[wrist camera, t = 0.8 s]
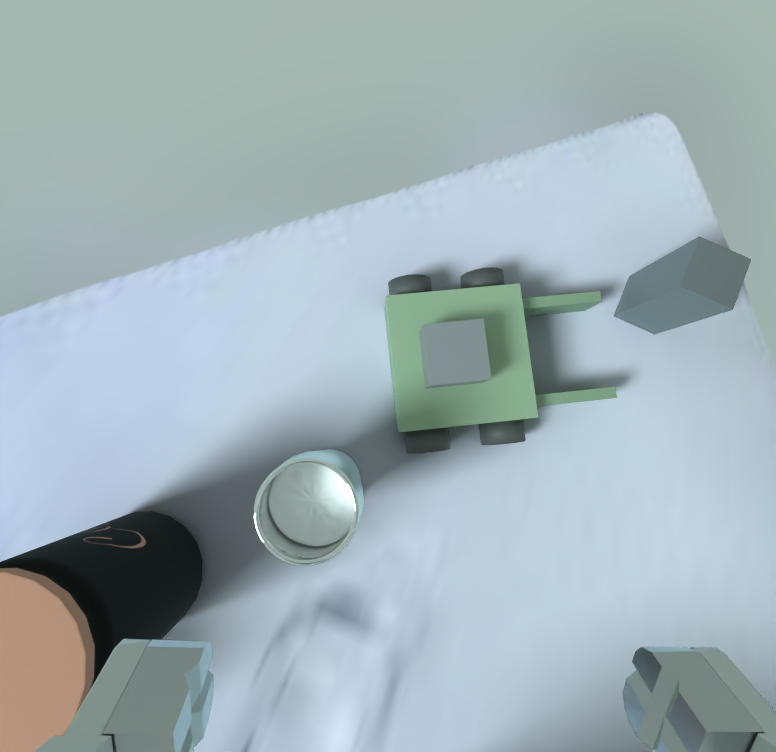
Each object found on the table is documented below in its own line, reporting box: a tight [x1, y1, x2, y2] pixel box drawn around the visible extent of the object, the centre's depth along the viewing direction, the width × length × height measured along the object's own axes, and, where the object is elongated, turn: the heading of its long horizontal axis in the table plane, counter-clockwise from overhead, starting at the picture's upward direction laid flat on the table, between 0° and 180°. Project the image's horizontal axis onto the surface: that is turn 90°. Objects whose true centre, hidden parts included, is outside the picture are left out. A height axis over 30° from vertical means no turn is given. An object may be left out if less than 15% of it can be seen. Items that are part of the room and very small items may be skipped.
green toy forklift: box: [385, 268, 617, 453], centre depth 41 cm, size 16×20×8 cm
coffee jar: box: [0, 512, 202, 752], centre depth 33 cm, size 11×11×18 cm
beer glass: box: [254, 449, 364, 566], centre depth 36 cm, size 7×7×15 cm
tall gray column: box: [614, 237, 751, 334], centre depth 41 cm, size 4×4×10 cm
